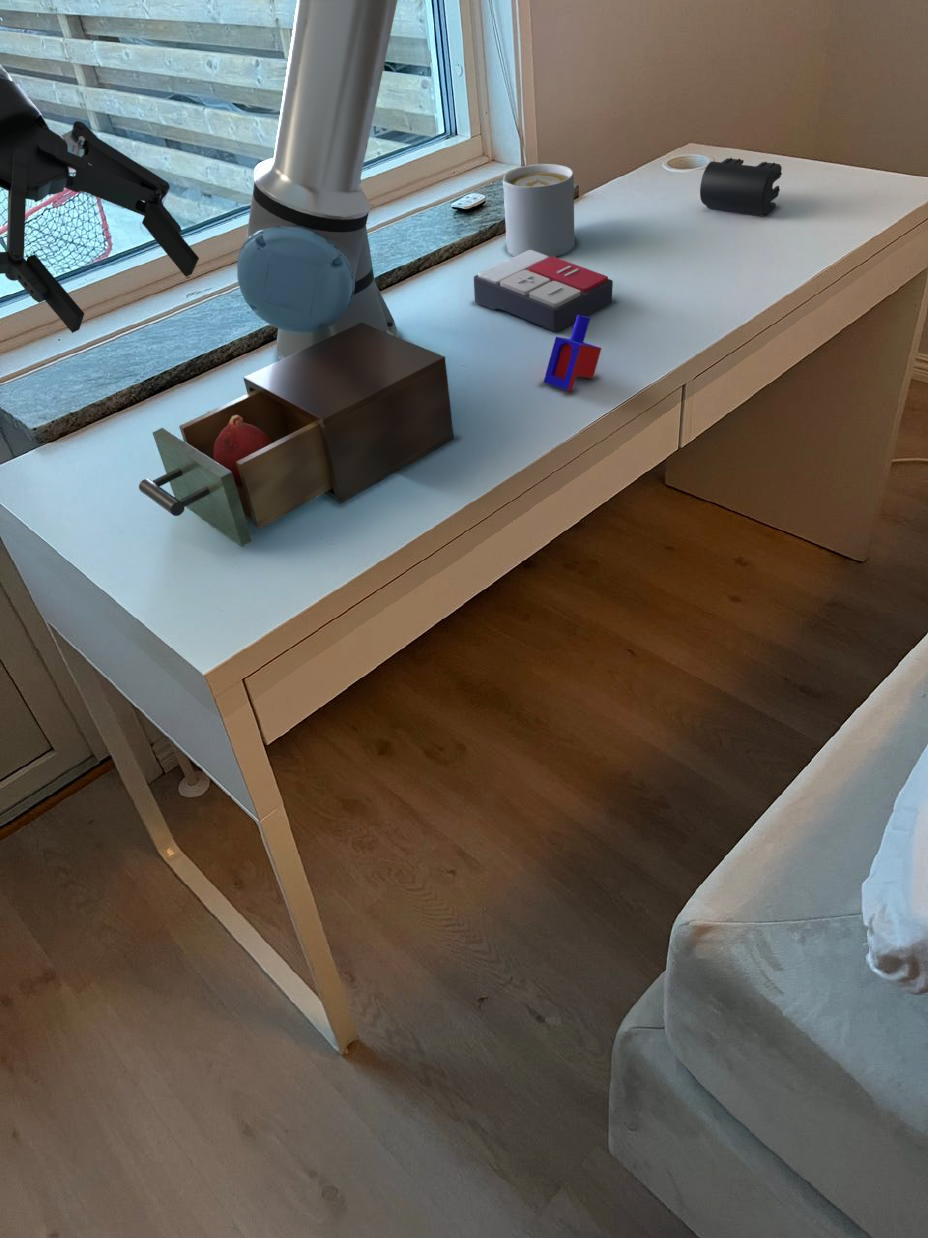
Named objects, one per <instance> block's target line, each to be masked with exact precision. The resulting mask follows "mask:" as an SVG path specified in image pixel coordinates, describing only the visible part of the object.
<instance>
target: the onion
mask: <svg viewBox="0 0 928 1238" xmlns="http://www.w3.org/2000/svg"><path fill="white" fill-rule="evenodd" d="M270 444H272V443H271V440H270V439H269V438H268V437H267V435H266V434H264V433H263V432H262V431H261V430H260V429H258V428H257V427H255V426H253V425H250V424H247V423H243V419H242V417H241V416H239V415H235V416H232V418H231V419H230V421H229V424H228V426H227V427H225V428H224V429H223V430H222V431H221V433H220V434H219V436H218V438H217V439H216V441H215V445H214V454H213V458H214V461H215V462H217V463H219V464H220V465H222V466H223V467H225V468H226V469H228V470H229V471H231V472H232V474H233V478H234V481H235V485H236V486H238V487H243V485H242V481H241V478H240V474H239V471H238V467H237V464H236V462H237V461H239V460H241V459H243V458H245V457H246V456H248V455H250V454H252V453H254V452H256V451H258V450H260V449H262V448H264V447H266V446H268V445H270Z"/></svg>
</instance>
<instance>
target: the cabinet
mask: <svg viewBox="0 0 928 1238" xmlns="http://www.w3.org/2000/svg"><path fill="white" fill-rule="evenodd" d="M446 363H447V362H446V356H445V355H441V354H440V353H437V352H435V351H432V350H430V349H427V348H425V347H423V346H420V345H418V344H415V343H413V342H410V341H407V340H405V339H403V338H400V337H399V336H398V337H396V336H393V335H391V334H389V333H386V332H384V331H381V330H379V329H376V328H374V327H372V326H369V325H367V324H364V323H359V324H357V325H355V326H353V327H351V328H349V329H346V330H344V331H342V332H340V333H338V334H336V335H333V336H331V337H329V338H327V339H325V340H323V341H321V342H318V343H316V344H314V345H312V346H310V347H308V348H306V349H303V350H301V351H299V352H297V353H295V354H293V355H290V356H288V357H286V358H284V359H282V360H280V359H279V360H278V361H275V362H273V363H271V364H269V365H267V366H265V367H262V368H260V369H258V370H256V371H254V372H252V373H250V374H247V375H245V376H243V377H242V378H243V379H242V380H243V382H244V385H245V390H246V394H248V393H250V392H252V391H254V390H257V391H259V392H260V393H262V394H264V395H266V396H268V397H270V398H272V399H274V400H275V401H277V402H279V403H281V404H283V405H285V406H287V407H288V408H290V409H292V410H294V411H296V412H298V413H300V414H302V415H303V416H305V417H307V418H309V419H311V420H313V421H315V422H317V423H318V424H320V428H321V433H322V438H323V442H324V447H325V452H326V456H327V461H328V466H329V470H330V475H331V479H332V484H333V488H332V489H330V490H328V491H327V492H325V493H323V495H325V496H327V497H329V498H330V499H332V500H334V501H335V502H337V503H339V504H343V503H345V502H346V501H348V500H350V499H352V498H354V497H356V496H357V495H359V494H360V493H362V492H364V491H366V490H368V489H369V488H371V487H372V486H374V485H377V484H378V483H380V482H382V481H383V480H385V479H387V478H389V477H390V476H392V475H394V474H396V473H398V472H399V471H400V470H402V469H404V468H406V467H408V466H409V465H412V464H413V463H414V462H416V461H418V460H420V459H422V458H424V457H425V456H427V455H429V454H431V453H432V452H434V451H435V450H438V449H439V448H441V447H443V446H445V445H446V444H448V443H450V442H452V441H453V440H455V435H454V425H453V415H452V406H451V399H450V390H449V381H448V379H449V378H448V371H447V364H446Z"/></svg>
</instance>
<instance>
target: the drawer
mask: <svg viewBox="0 0 928 1238" xmlns="http://www.w3.org/2000/svg"><path fill="white" fill-rule="evenodd" d="M235 415H239V416H241V417H242V419H243V423H247V424H250V425H253V426H255V427H257V428H258V429H260V430H261V431H262V432H263V433H264V434H266V435H267V437H268V438H269V439H270V440H271V443H272V444H270V445H268V446H266V447H264V448H262V449H260V450H258V451H256V452H254V453H252V454H250V455H248V456H246V457H245V458H243V459H241V460H239V461H237V462H236V464H237V467H238V471H239V474H240V478H241V481H242V485H243V487H238V486H236V485H235V481H234V478H233V474H232V472H231V471H229V470H228V469H226V468H225V467H223V466H222V465H220V464H219V463H217V462H215V461H214V458H213V454H214V445H215V441H216V439H217V438H218V436H219V434H220V433H221V431H222V430H223V429H224V428H225V427H227V426H228V424H229V421H230V419H231V418H232V416H235ZM178 429H179V431H180V434H181V437H182V439H181V438H180V437H178V436H177V435H175V434H174V433H172V432H170V431H168V429H166V428H164V427H161V428H159V429H157V430H155V431H152V436H153V439H154V442H155V445H156V448H157V450H158V454H159V456H160V459H161V463H162V465H163V468H164V470H165V471H164V472H165V473H164V474H163V475H161V476H159V477H157V478H155V479H153V480H151V479H149V478H146V479H142V480H141V481H140V482H139V483H138V490H139V491H140V493H142V494H143V495H145V496H146V497H148V498H149V499H151V500H152V501H153V502H154V503H156V504H157V505H158V506H159V507H161V508H163V509H164V510H165V511H166V512H168V513H169V514H171V515H172V516H174V517H179V516H181V515H182V514H183V513H184V511H185V508H187V509H188V510H190V511H191V512H192V513H194V514H195V515H197V516H198V517H200V518H201V519H202V520H204V522H206V523H208V524H209V525H210V526H212V527H214V528H215V529H216V530H218V531H219V532H220V533H222V534H223V535H225V536H226V537H227V538H229V539H230V540H231V541H233V542H234V543H236V544H237V545H239V546H240V547H242V548H243V547H244V546H247V545H249V544H250V543H252V542H253V539H252V535H251V532H250V528H249V526H248V523H249V524H250V525H252V526H253V527H255V528H256V529H257V530H261V529H263V528H264V527H266V526H268V525H269V524H271V523H273V522H275V521H276V520H279V519H280V518H282V517H284V516H286V515H287V514H289V513H292V511H295V510H296V509H298V508H300V507H301V506H304V505H306V504H307V503H309V502H311V501H313V500H314V499H316V498H318V497H320V496H321V495H324V493H325V492H327V491H328V490H330V489H332V488H333V484H332V479H331V475H330V470H329V466H328V461H327V456H326V452H325V447H324V442H323V438H322V433H321V428H320V424H318V423H317V422H315V421H313V420H311V419H309V418H307V417H305V416H303V415H302V414H300V413H298V412H296V411H294V410H292V409H290V408H288V407H287V406H285V405H283V404H281V403H279V402H277V401H275V400H274V399H272V398H270V397H268V396H266V395H264V394H262V393H260V392H259V391H257V390H254V391H252V392H250V393H246V394H244V395H242V396H239V397H238V398H235V399H233V400H231V401H229V402H227V403H225V404H223V405H221V406H218V407H216V408H214V409H212V410H210V411H207V412H206V413H204V414H202V415H199V416H198V417H195V418H193V419H191V420H188V421H187V422H184V423H183V424H180V425H179V427H178ZM167 483H169V485H170V488H171V491H172V493H173V494H171V493H169V492H168V491H167V490H165V489H164V488H162V486H164V485H165V484H167Z"/></svg>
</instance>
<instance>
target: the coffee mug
mask: <svg viewBox="0 0 928 1238" xmlns="http://www.w3.org/2000/svg"><path fill="white" fill-rule="evenodd" d="M574 177H575V175H574V171H573V169H572V168H570V167H568V166H565V165H563V164H557V163H556V164H554V163H536V164H535V163H534V164H528V165H524V166H519V167H515V168H514V169H511V170H509V171H507V172H506V173H504V175H503V177H502V189H503V204H504V205H503V206H504V207H503V208H504V222H505V237H506V239H505V240H506V250H507V252H508V253H509V254H510V255H511V256H512V257H515V256H517V255H519V254H521V253H524V252H526V251H528V250H533V251H536V252H538V253H541V254H544V255H546V256H549V257H556V258H558V257H560V256H562V255H565V254H567V253H569V252H570V251H572V250H573V249H574V247H575V185H574V184H575V183H574V182H575V181H574V180H575V179H574Z"/></svg>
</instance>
